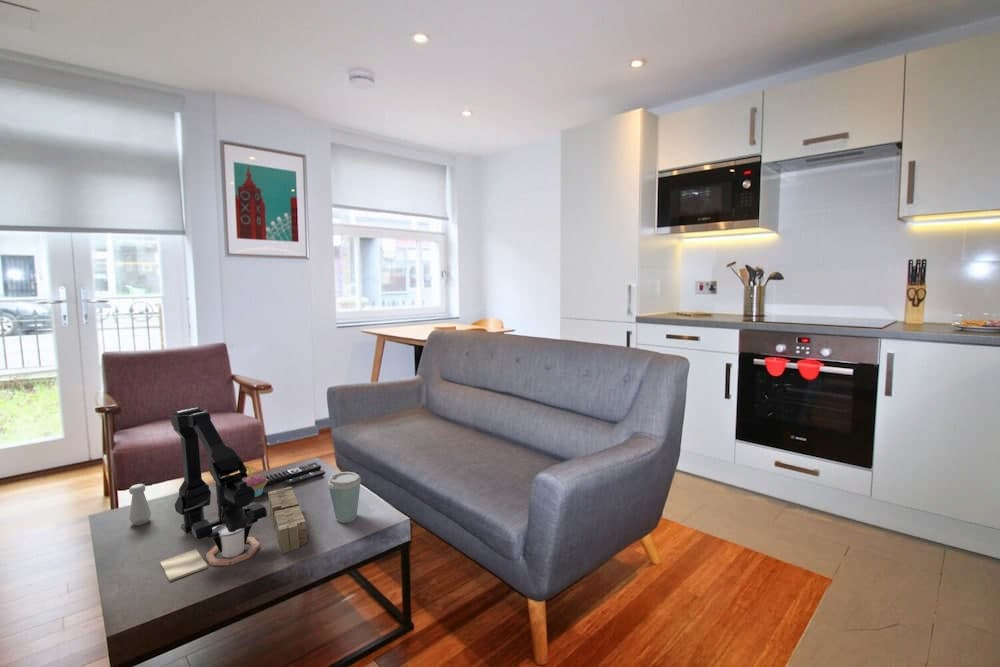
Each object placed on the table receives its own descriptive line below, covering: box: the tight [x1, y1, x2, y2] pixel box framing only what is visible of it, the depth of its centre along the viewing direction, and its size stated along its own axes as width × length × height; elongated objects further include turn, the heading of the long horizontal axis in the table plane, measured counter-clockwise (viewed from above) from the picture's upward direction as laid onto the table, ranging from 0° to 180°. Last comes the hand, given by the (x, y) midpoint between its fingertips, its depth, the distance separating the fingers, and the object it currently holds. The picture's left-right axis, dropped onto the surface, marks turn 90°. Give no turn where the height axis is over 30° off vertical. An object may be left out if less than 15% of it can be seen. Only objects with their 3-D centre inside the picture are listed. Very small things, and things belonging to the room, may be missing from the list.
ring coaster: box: [205, 536, 260, 566], centre depth 144 cm, size 13×13×1 cm
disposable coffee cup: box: [327, 471, 362, 524], centre depth 162 cm, size 11×11×15 cm
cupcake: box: [243, 463, 268, 498], centre depth 182 cm, size 9×8×12 cm
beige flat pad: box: [159, 548, 208, 583], centre depth 138 cm, size 12×9×1 cm
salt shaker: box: [128, 483, 152, 527], centre depth 162 cm, size 6×6×13 cm
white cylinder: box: [218, 526, 245, 559], centre depth 144 cm, size 7×7×7 cm
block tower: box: [267, 486, 308, 554], centre depth 157 cm, size 8×8×29 cm
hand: (232, 547), depth 144 cm, fingers closed on white cylinder, 6 cm apart
